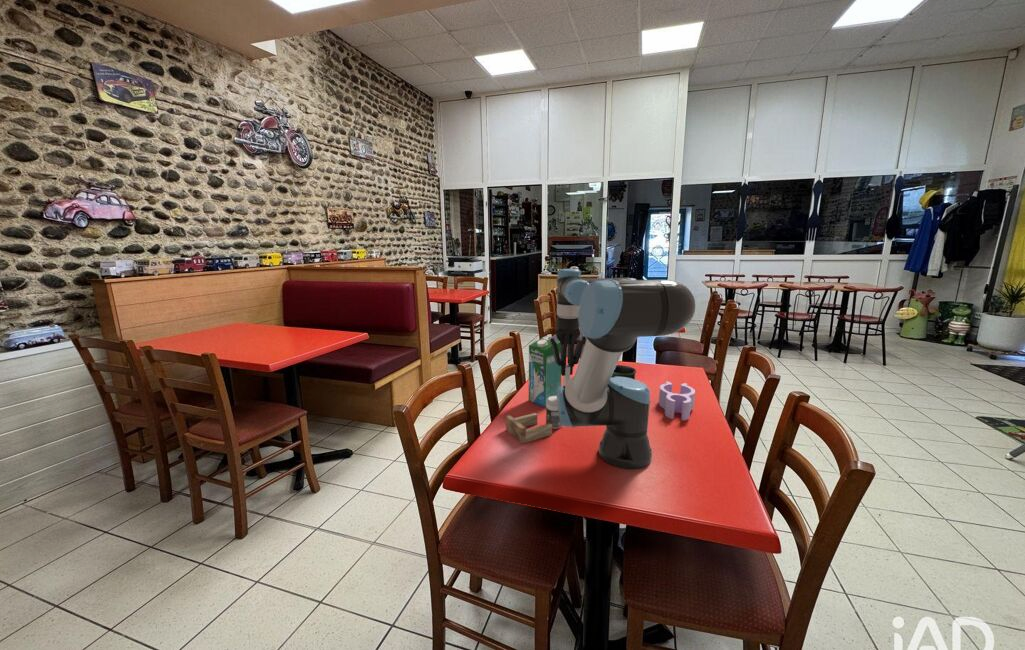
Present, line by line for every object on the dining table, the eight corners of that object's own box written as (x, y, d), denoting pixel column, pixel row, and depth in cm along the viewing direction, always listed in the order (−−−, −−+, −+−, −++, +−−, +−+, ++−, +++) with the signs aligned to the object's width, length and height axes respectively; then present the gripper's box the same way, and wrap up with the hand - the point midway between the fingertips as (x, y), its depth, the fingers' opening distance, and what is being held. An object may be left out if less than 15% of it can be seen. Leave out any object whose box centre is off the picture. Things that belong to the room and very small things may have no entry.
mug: (632, 405, 155) (634, 375, 152) (594, 399, 161) (595, 370, 158) (636, 395, 164) (638, 367, 162) (600, 389, 170) (602, 362, 168)
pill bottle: (544, 421, 141) (545, 395, 139) (560, 421, 142) (561, 394, 140) (547, 429, 136) (547, 402, 134) (564, 429, 136) (564, 401, 134)
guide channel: (552, 434, 132) (552, 420, 131) (521, 443, 127) (521, 429, 126) (535, 422, 141) (535, 408, 140) (506, 429, 136) (505, 416, 135)
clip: (696, 422, 141) (698, 404, 139) (658, 417, 145) (660, 399, 143) (691, 400, 159) (693, 384, 158) (658, 396, 163) (659, 380, 162)
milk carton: (528, 400, 160) (528, 339, 154) (544, 394, 165) (545, 335, 160) (544, 407, 153) (545, 344, 147) (560, 401, 159) (562, 339, 153)
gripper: (582, 313, 138) (579, 378, 143) (545, 315, 135) (544, 381, 140) (591, 317, 131) (588, 386, 136) (552, 319, 128) (551, 389, 133)
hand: (566, 383), depth 138 cm, fingers closed
